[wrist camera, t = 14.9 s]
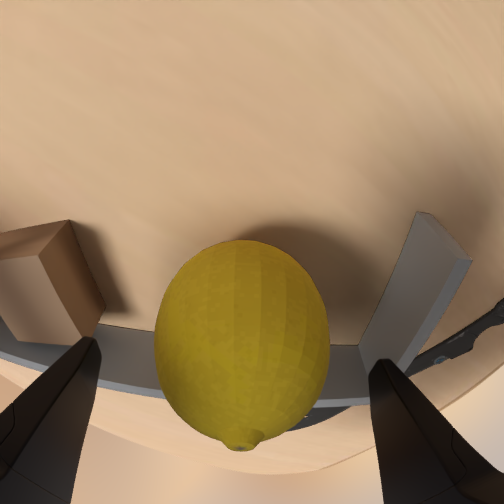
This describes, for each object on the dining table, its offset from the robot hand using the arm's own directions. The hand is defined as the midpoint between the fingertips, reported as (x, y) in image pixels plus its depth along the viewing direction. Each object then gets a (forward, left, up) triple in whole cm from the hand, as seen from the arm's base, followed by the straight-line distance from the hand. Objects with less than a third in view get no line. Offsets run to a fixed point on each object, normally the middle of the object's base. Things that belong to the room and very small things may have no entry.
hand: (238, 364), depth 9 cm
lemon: (0, 0, -5) cm, 5 cm away
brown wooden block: (+10, +1, -5) cm, 11 cm away
